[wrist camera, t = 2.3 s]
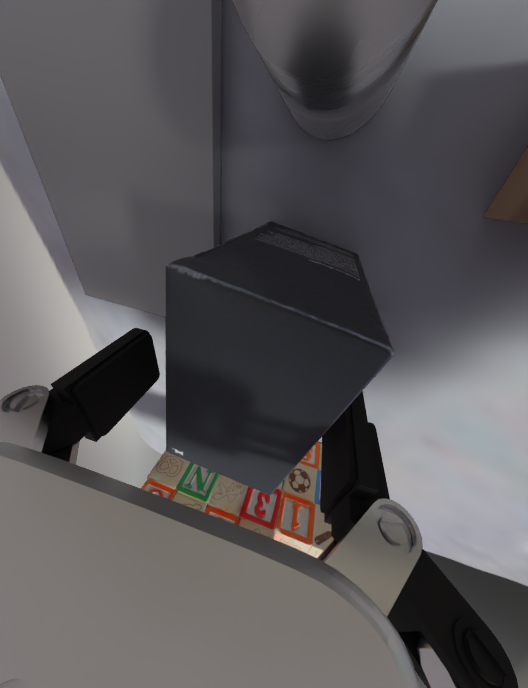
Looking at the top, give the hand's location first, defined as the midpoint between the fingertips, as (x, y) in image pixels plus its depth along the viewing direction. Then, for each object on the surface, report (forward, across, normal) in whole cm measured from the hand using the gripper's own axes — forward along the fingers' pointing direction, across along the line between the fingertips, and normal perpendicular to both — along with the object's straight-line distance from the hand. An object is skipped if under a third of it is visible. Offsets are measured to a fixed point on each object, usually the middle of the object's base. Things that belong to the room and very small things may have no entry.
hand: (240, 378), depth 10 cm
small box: (+8, -1, 0) cm, 8 cm away
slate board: (+8, +11, -6) cm, 15 cm away
